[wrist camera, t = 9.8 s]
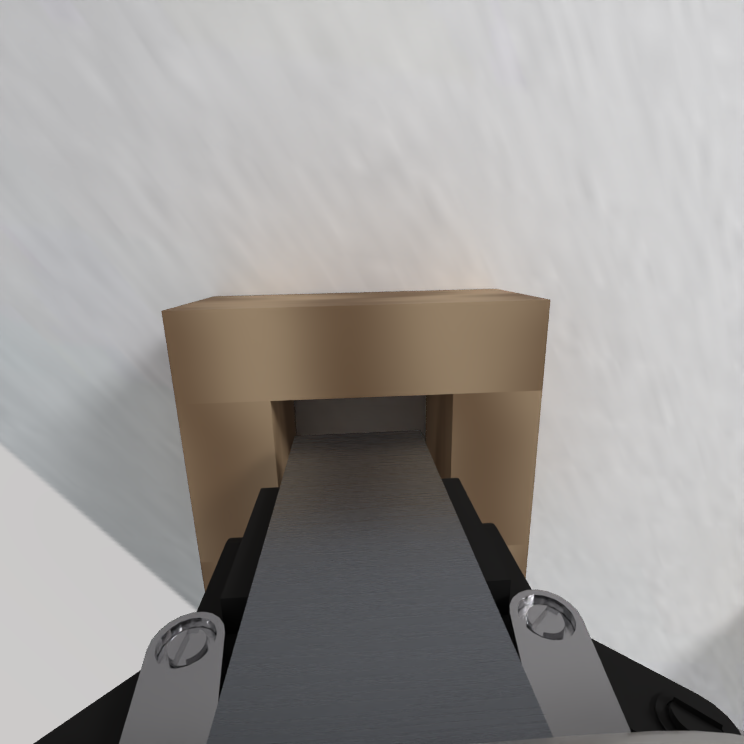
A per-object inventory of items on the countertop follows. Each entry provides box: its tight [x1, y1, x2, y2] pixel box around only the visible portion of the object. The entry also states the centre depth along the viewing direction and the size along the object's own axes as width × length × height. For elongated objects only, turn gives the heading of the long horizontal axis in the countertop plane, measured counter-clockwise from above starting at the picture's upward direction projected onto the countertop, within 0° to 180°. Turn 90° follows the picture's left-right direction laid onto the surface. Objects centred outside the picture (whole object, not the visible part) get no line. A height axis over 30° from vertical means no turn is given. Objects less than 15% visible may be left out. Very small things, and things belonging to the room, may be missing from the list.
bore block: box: [162, 289, 550, 591], centre depth 17 cm, size 12×12×5 cm
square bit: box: [206, 430, 553, 744], centre depth 9 cm, size 4×4×10 cm
